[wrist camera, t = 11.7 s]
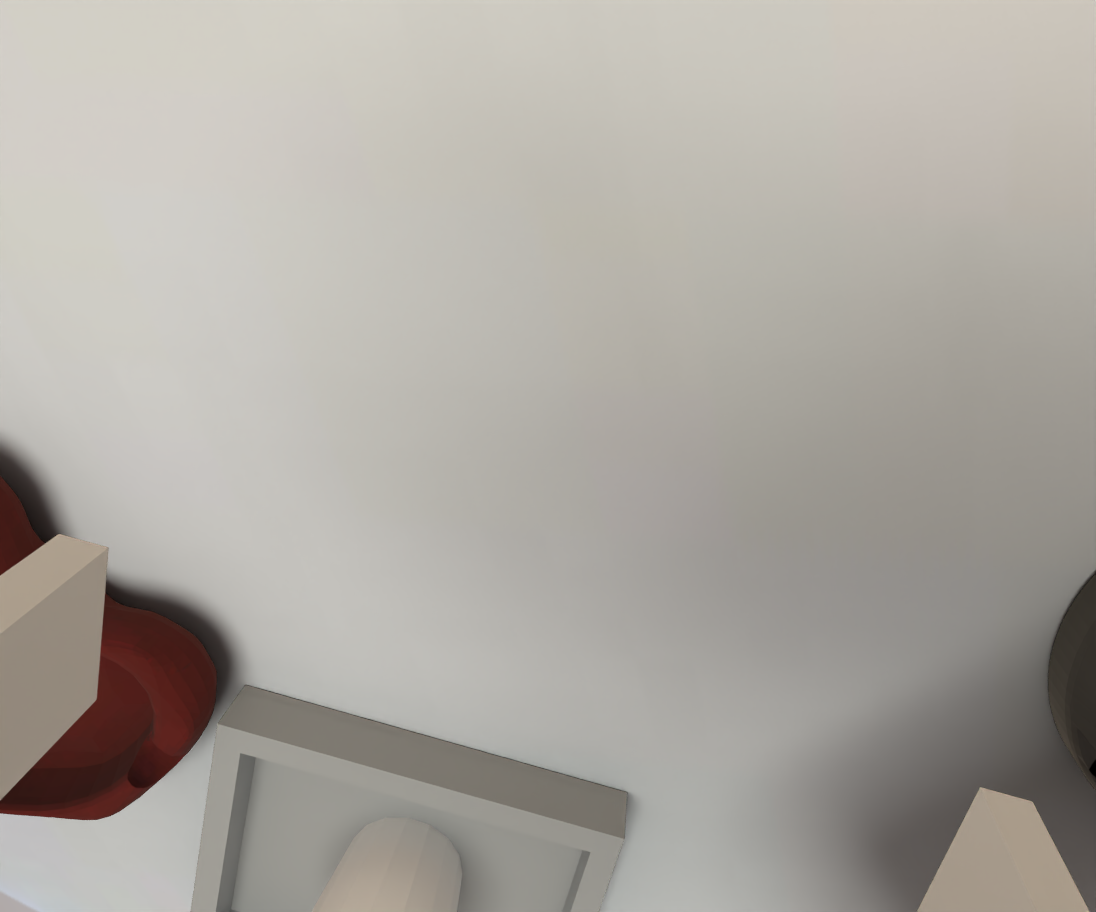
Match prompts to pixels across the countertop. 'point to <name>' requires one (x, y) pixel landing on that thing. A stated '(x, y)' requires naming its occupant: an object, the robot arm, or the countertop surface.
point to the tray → (390, 812)
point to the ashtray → (115, 705)
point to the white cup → (395, 871)
